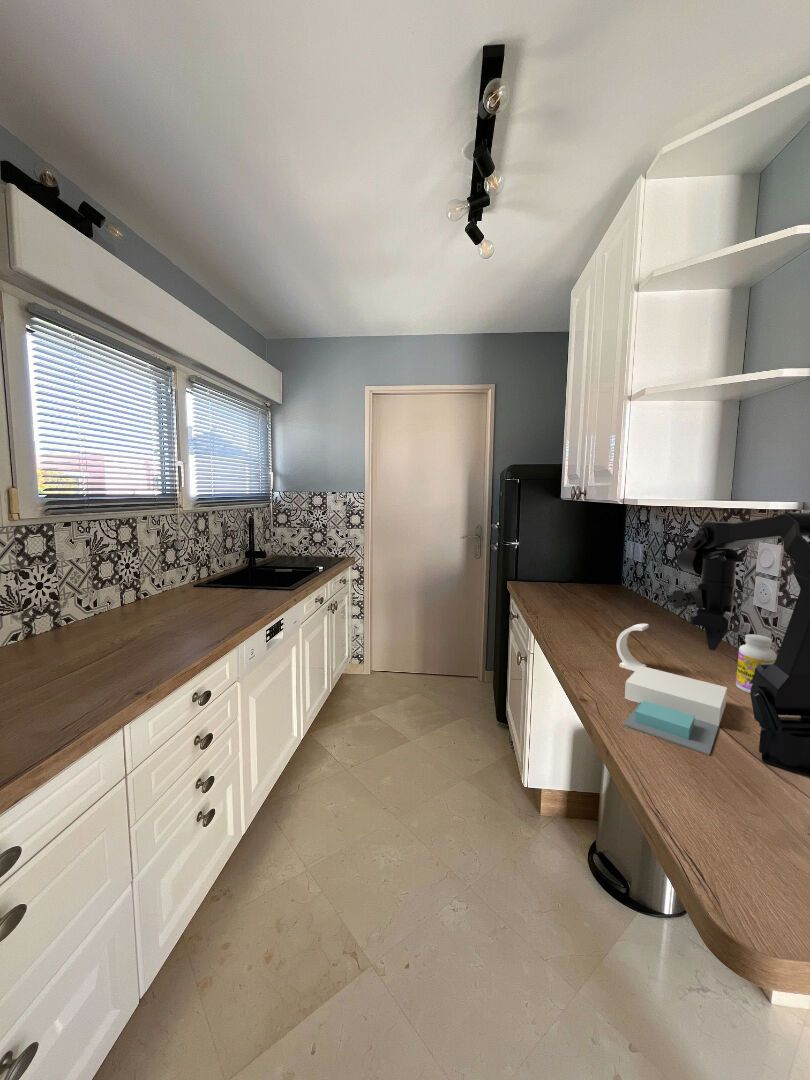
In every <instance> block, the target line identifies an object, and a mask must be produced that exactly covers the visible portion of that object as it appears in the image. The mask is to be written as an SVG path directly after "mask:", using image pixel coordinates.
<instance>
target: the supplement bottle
mask: <svg viewBox="0 0 810 1080" xmlns="http://www.w3.org/2000/svg"><path fill="white" fill-rule="evenodd" d="M744 640H745V644H742V645H740V646H739V649H738V658H737V668H736V677H735V678H736V679H735V685H736V687H737V688H738V689H739V690H741V691H743V692H744V693H748V694H750V692H751V687H752V684H751V683H750V681H751V680H752V679H753V677H754V672H755V668H756V667H757V665H772V664H773V663H774V662H775V661H776V658H777V654H776V652H775V651H774V650H773V649H771V647H772V645H773V639H772V638H770V637H768V636H765V635H760V634H753V633H752V634H746V635H745V638H744Z"/></svg>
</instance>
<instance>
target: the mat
mask: <svg viewBox="0 0 810 1080" xmlns="http://www.w3.org/2000/svg"><path fill="white" fill-rule="evenodd" d="M641 703H642V702H639V703H637V705H636V706H635V708H634V709H633V710H632V711H631V712H630V714H629V715H628V716H627V718H626V720H625V721H624V723H623V724H622V726H624V727H627V728H629V729H632V730H635V731H638V732H641V733H644V734H647V735H649V736H653V737H656V738H658V739H661V740H664V741H667V742H669V743H672V744H675V745H677V746H678V745H679V746H682V747H684V748H687V749H690V750H693V751H696V752H698V753H702V754H704V755H707V756H711V752H712V748H713V746H714V743H715V740H716V736H717V734H718V730H719V728H720V725H719V726H717V725H714V724H710V723H707V722H704V721H701V720H697V719H695V720H694V728H693V730H692V732H691V735H690V737H689V740H688V739H685V738H682V737H679V736H676V735H673V734H670V733H667V732H664V731H661V730H658V729H655V728H652V727H649V726H646V725H643V724H640V723H637V722H635V714H636V710H637V709H638V707H639V706H640V705H641Z"/></svg>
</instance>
